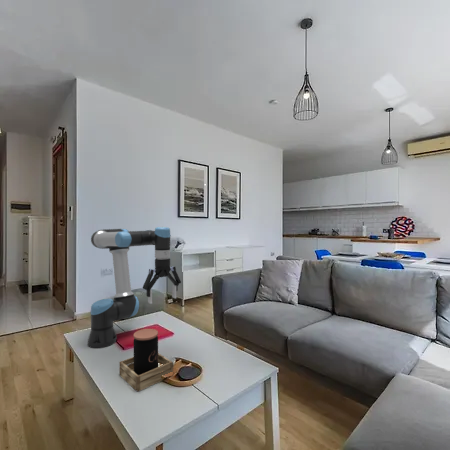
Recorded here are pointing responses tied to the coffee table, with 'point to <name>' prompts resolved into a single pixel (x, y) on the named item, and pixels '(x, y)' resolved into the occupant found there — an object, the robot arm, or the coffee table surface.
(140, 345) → the coffee jar
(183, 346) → the coffee table surface
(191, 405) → the coffee table surface
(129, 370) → the pine crate
